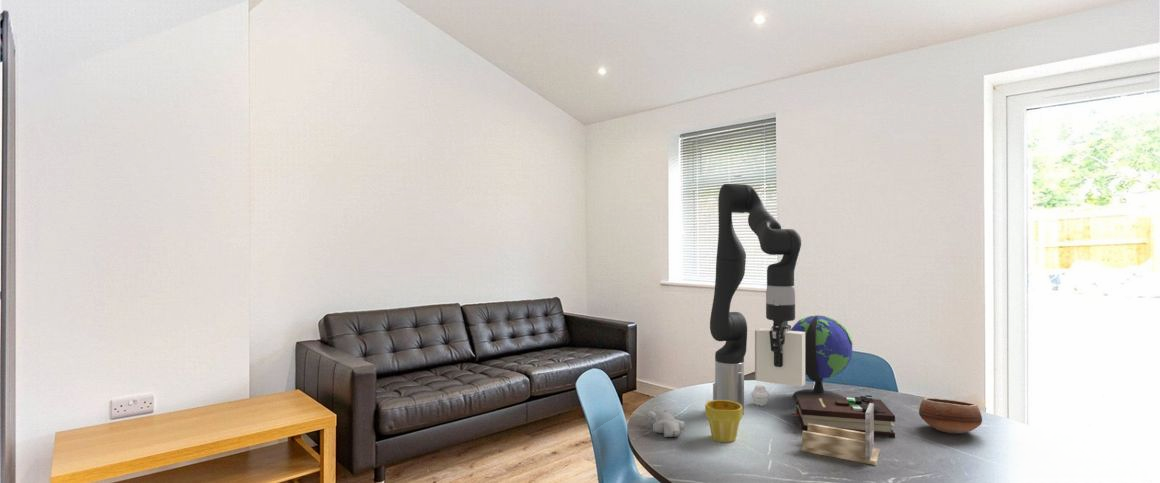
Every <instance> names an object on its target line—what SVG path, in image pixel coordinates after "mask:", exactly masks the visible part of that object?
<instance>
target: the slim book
mask: <svg viewBox="0 0 1160 483" xmlns="http://www.w3.org/2000/svg"><path fill="white" fill-rule="evenodd" d="M770 331H771V328H764V327H763V328H762V327H760V328H758V329H756V330H754V380H755V381H756V382H763V383H769V384H777V385H786V386H791V387H792V386H793V387H800V388H803V387H804V386H805V385H806V375H805V332H800V331H787V333H786V334H785V344H784V345H783V366H782V367H775V366H774V352H773V351H771V344H770V334H769V332H770ZM782 340H783V338H782V339H781V341H782ZM776 347H778V345H777V344H776Z"/></svg>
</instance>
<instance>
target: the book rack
mask: <svg viewBox="0 0 1160 483" xmlns="http://www.w3.org/2000/svg"><path fill="white" fill-rule="evenodd" d="M801 435H802V436H801V437H802V438H801V439H802V441H801V444H802V446H801V451H802V452H806V453H810V454H816V455H820V456H827V457H830V458H831V457H832V458H835V459H836V458H837V459H841V460H847V461H852V462H857V463H863V464H868V465H873V466H877V465H878V461H879V457H880V454H881V448H877V447H875V446H874V445H875V443H874V441H875V440H874V439H875V438H874V437H875V436H874V404H873V403H869V406H868V408H867V410H866V413H865V432H859V431H853V430H847V429H841V428H835V427H829V426H823V425H817V424H811V423H808V431H807V430H802V434H801Z"/></svg>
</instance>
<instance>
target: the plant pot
mask: <svg viewBox="0 0 1160 483" xmlns="http://www.w3.org/2000/svg"><path fill="white" fill-rule="evenodd" d="M704 407H705V408H704V411H705V412H704V413H705V417H707V422H708V424H709V428H710V434H711V438H712V440H714V441H716V442H719V443H732V442H734V441H736V438H737V435H738V434H737V433H738V430H739V425H740V420H742V418H743V415H742V405H741V404H739V403H737V402H733V401H728V400H713V399H712V400H709V401H707V402H706V403H705V405H704Z"/></svg>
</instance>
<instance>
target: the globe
mask: <svg viewBox="0 0 1160 483" xmlns="http://www.w3.org/2000/svg"><path fill="white" fill-rule="evenodd" d="M791 331H800V332H805V376H807V377H808V379H809V380H810V381H812V382H814V387H813V388H808V389H807V388H806V389H800V390H797V391H795V392H793V394H792V399H794V400H795V401H796V394H804V395H818V396H833V397H843V396H842V395H841V394H839V393H837V392H833V391H831V390H826V389H825V388H824V385H823V379H829V378H833V377H835V376H838V375H839V374H840V373H842V372H843V371H845V369H847V367H848V365H849V364H850V363H851V360H852V357H853V351H854V350H853V346H854V341H853V339H852V337H851V334H850V333H849V331H848V330H847V328H846V327H845V326H844V325H843V324H842V323H841V322H839V321H838V320H836V319H834V318H832V317H829V316H825V315H818V314H817V315H809V316H806V317H804V318H800V319H799V320H798V321H796V322H795V324H794V325H793V327H792V326H791Z"/></svg>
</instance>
